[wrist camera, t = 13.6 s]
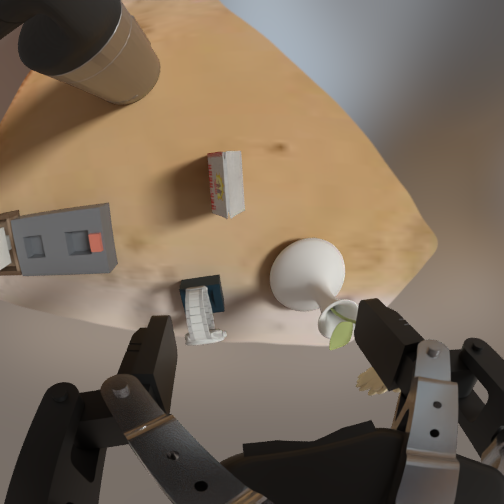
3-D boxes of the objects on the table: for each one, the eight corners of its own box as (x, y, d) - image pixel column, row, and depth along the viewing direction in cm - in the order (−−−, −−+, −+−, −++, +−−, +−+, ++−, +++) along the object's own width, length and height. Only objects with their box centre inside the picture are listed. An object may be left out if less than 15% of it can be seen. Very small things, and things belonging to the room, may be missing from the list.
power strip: (22, 215, 34) (7, 221, 30) (108, 202, 36) (97, 208, 32) (33, 267, 37) (20, 277, 33) (117, 263, 38) (108, 274, 35)
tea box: (237, 152, 36) (244, 149, 26) (241, 202, 38) (248, 217, 28) (209, 154, 35) (205, 152, 26) (213, 204, 38) (211, 220, 28)
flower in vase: (264, 305, 43) (307, 443, 20) (271, 232, 40) (342, 340, 16) (342, 304, 45) (424, 414, 21) (355, 237, 41) (472, 321, 18)
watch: (190, 316, 42) (184, 362, 32) (179, 268, 40) (167, 306, 29) (226, 311, 43) (229, 357, 32) (217, 263, 40) (217, 300, 30)
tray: (-14, 216, 33) (-24, 220, 30) (18, 209, 34) (8, 214, 31) (-2, 269, 36) (-11, 275, 33) (30, 268, 37) (21, 274, 34)
